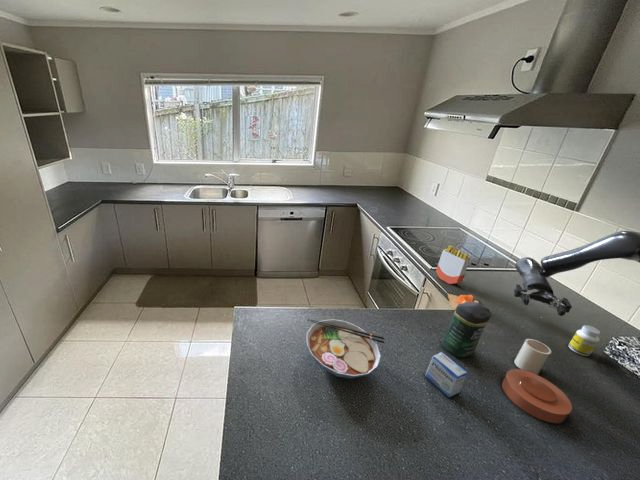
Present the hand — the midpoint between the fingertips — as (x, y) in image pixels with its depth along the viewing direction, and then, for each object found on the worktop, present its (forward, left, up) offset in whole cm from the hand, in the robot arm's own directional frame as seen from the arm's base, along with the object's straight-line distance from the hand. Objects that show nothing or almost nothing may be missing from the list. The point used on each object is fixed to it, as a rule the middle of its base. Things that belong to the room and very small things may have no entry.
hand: (544, 308), depth 94 cm
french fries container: (+26, -33, -18) cm, 46 cm away
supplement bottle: (-16, -11, -18) cm, 26 cm away
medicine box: (+22, +37, -18) cm, 46 cm away
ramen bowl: (+50, +49, -18) cm, 72 cm away
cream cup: (0, +11, -17) cm, 20 cm away
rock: (+18, -15, -18) cm, 29 cm away
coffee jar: (+19, +17, -18) cm, 31 cm away
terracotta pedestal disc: (0, +25, -17) cm, 30 cm away
